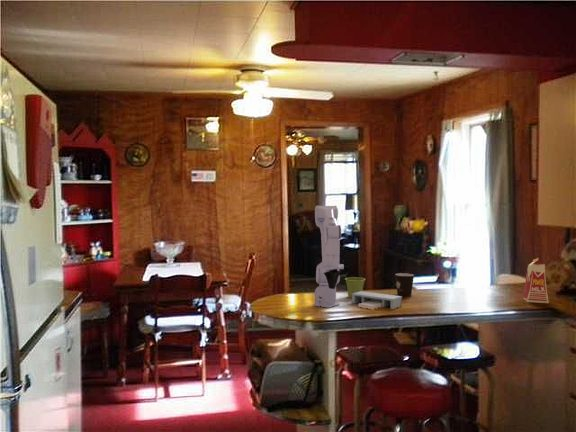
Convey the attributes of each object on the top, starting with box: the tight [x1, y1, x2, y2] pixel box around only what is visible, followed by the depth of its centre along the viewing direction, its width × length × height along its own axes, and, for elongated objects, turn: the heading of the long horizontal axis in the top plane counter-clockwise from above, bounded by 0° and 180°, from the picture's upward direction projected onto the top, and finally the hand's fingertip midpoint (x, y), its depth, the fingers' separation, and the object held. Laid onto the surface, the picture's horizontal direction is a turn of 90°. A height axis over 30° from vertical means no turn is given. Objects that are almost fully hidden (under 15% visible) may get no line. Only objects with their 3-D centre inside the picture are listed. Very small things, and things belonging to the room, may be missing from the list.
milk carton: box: [523, 257, 549, 304], centre depth 261 cm, size 9×9×20 cm
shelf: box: [351, 290, 403, 310], centre depth 249 cm, size 8×20×4 cm, turn 52°
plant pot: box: [344, 276, 366, 299], centre depth 266 cm, size 9×9×9 cm
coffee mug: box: [393, 272, 415, 298], centre depth 272 cm, size 12×9×10 cm
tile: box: [358, 300, 383, 310], centre depth 246 cm, size 12×7×2 cm, turn 138°
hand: (332, 288), depth 232 cm, fingers closed
